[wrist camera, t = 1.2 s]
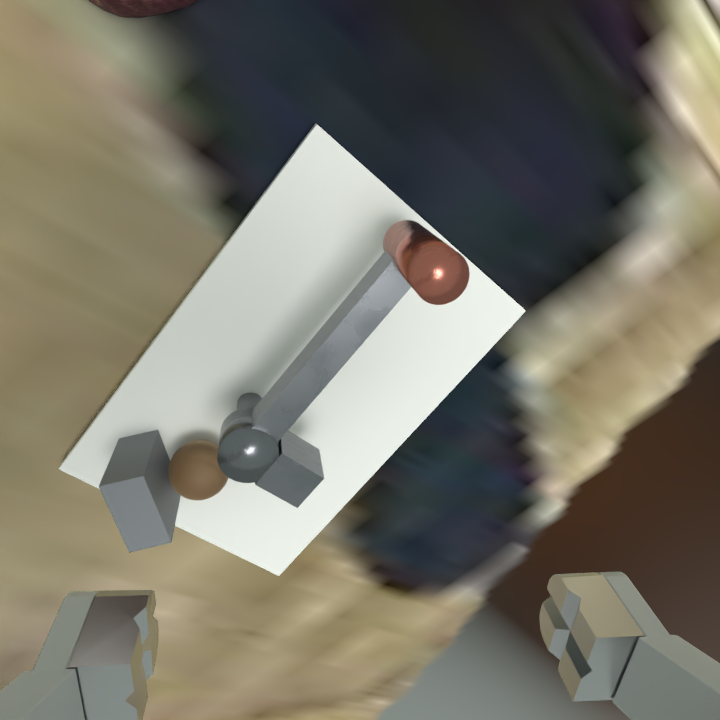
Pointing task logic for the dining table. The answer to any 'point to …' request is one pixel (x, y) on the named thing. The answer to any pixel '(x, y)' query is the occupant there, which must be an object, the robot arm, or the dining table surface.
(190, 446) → the brown ball
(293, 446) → the lever
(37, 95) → the dining table surface
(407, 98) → the dining table surface
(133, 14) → the vegetable
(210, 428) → the board
